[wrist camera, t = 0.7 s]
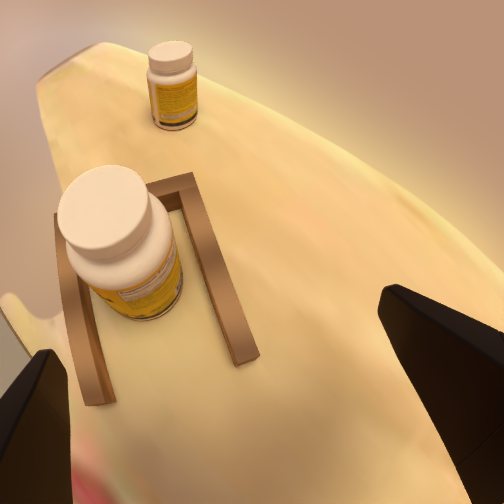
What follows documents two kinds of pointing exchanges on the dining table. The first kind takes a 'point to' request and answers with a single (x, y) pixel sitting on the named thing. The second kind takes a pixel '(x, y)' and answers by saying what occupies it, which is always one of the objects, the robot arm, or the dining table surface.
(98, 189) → the pill bottle
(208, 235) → the open wooden u-frame
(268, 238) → the dining table surface
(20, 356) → the coaster
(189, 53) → the supplement bottle
